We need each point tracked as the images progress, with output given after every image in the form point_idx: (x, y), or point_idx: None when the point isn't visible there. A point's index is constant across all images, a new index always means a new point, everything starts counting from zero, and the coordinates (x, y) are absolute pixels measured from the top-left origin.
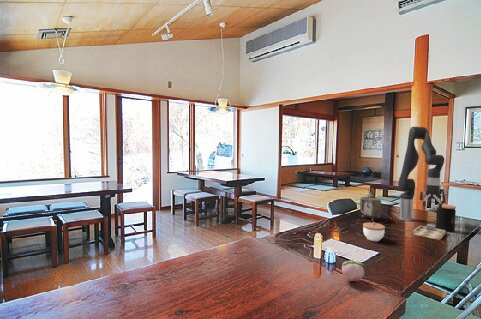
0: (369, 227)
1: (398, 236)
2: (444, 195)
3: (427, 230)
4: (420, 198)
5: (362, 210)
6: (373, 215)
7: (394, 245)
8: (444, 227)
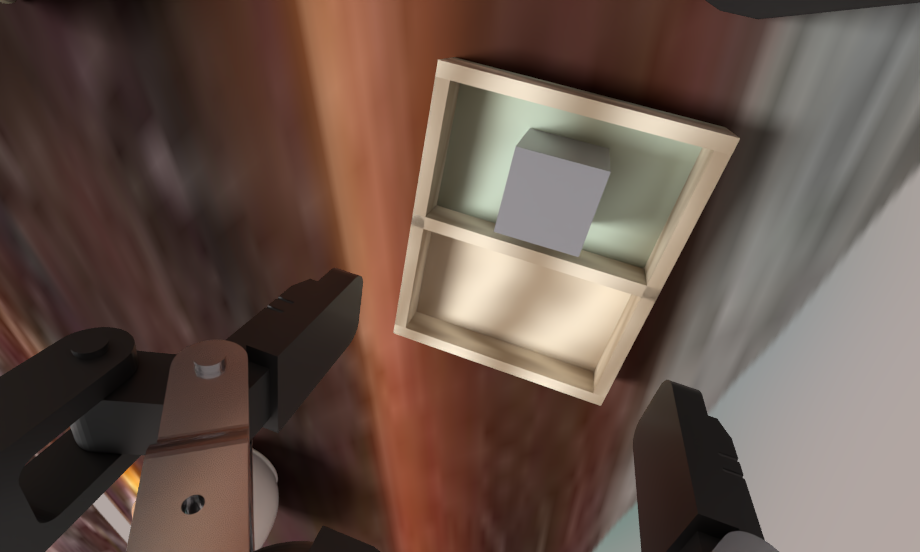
0: None
1: (333, 377)
2: None
3: (512, 256)
4: (87, 457)
5: None
6: None
7: (352, 516)
8: (766, 13)
